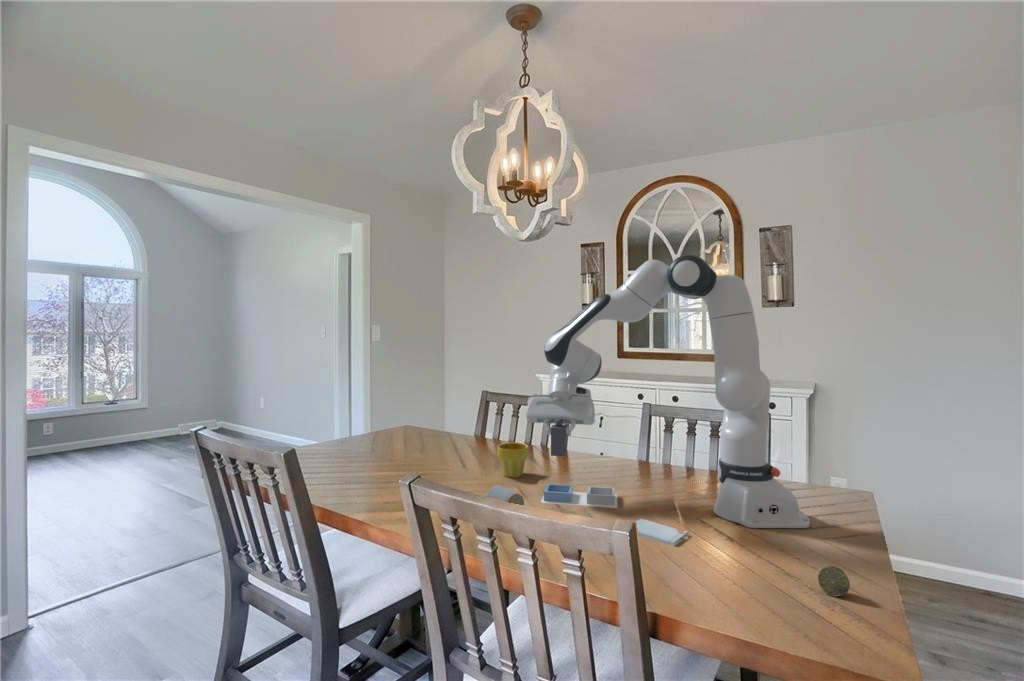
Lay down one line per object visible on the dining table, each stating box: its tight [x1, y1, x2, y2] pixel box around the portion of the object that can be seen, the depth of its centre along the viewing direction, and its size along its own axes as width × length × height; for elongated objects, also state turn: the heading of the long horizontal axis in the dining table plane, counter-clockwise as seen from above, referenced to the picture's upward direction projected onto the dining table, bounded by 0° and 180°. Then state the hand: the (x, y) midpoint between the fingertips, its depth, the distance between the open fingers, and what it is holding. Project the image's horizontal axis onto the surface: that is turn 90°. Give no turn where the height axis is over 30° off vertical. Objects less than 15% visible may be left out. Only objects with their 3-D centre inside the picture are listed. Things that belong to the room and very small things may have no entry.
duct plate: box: [540, 483, 618, 509], centre depth 145 cm, size 21×11×4 cm, turn 78°
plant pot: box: [497, 442, 529, 478], centre depth 171 cm, size 10×10×10 cm
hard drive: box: [635, 518, 690, 547], centre depth 123 cm, size 2×8×12 cm
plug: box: [550, 419, 567, 457], centre depth 145 cm, size 4×4×10 cm
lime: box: [817, 565, 851, 597], centre depth 95 cm, size 4×5×5 cm
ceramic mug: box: [486, 484, 525, 506], centre depth 135 cm, size 11×8×8 cm
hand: (558, 434), depth 145 cm, fingers closed on plug, 4 cm apart
